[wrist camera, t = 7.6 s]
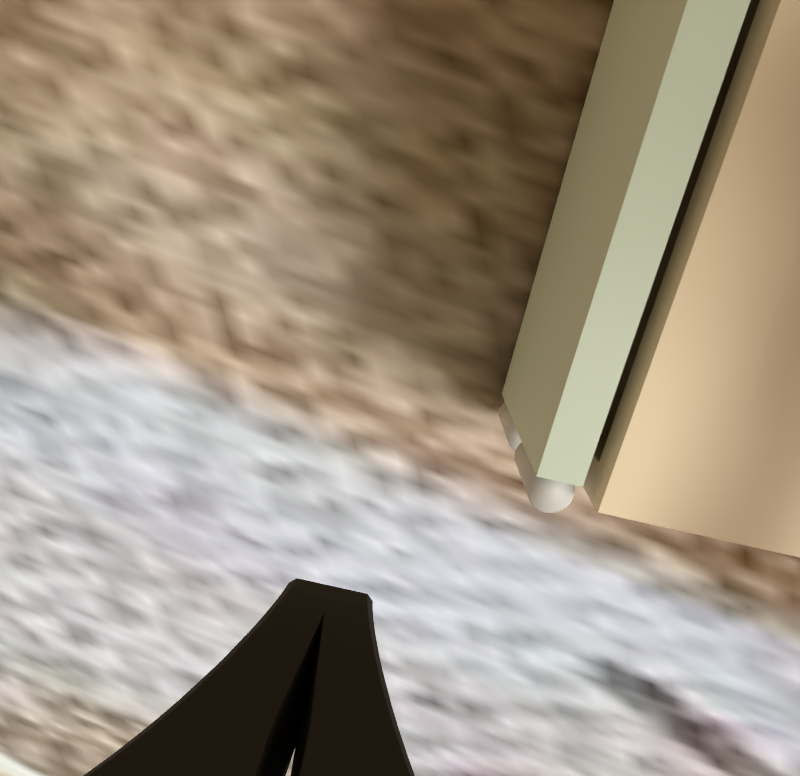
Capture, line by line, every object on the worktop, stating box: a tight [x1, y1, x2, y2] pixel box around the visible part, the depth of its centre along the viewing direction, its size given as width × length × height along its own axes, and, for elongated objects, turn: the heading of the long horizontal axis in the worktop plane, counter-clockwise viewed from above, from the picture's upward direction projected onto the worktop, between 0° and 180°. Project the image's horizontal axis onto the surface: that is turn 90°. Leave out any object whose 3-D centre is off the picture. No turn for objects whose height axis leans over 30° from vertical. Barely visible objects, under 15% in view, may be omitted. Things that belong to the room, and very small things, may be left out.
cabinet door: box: [499, 0, 751, 513], centre depth 12 cm, size 2×20×6 cm, turn 167°
